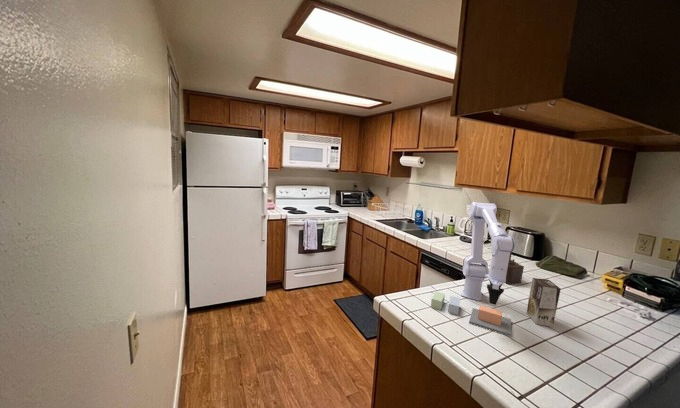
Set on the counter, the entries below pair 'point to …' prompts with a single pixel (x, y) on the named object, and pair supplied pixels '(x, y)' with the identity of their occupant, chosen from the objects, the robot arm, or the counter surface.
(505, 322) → the slate mat
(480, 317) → the terracotta brick
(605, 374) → the counter surface
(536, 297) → the coffee box
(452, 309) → the blue brick
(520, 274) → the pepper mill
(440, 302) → the sage brick
